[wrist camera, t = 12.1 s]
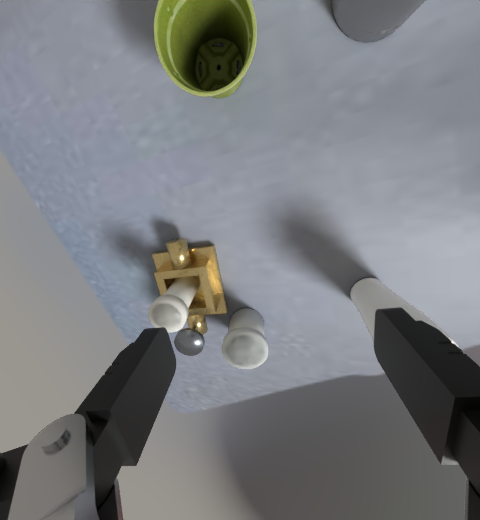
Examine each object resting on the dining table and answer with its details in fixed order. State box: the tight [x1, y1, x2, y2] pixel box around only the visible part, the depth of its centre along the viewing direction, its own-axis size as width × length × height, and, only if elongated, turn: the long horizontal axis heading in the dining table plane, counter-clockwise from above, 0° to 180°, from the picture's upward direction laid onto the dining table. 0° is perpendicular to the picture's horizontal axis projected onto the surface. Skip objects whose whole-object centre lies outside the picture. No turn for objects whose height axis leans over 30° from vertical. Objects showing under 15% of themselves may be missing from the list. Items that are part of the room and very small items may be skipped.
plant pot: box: [154, 0, 257, 98], centre depth 26 cm, size 9×9×9 cm
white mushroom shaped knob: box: [148, 276, 198, 332], centre depth 36 cm, size 5×5×9 cm
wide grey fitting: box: [222, 308, 268, 369], centre depth 39 cm, size 7×7×7 cm
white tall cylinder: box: [350, 278, 459, 348], centre depth 32 cm, size 7×7×15 cm
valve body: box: [152, 238, 228, 356], centre depth 37 cm, size 17×10×8 cm, turn 9°
